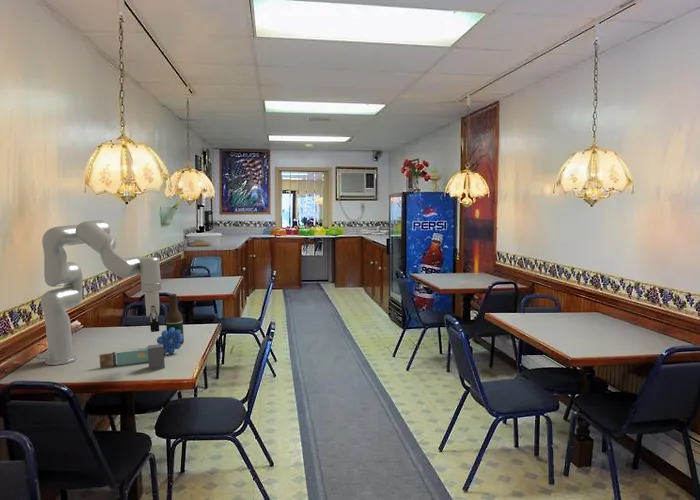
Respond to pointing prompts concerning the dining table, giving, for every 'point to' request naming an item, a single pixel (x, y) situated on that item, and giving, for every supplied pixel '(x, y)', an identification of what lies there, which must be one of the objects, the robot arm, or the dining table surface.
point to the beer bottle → (174, 316)
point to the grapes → (170, 340)
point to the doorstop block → (156, 357)
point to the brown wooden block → (107, 360)
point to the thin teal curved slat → (132, 357)
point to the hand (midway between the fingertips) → (155, 328)
